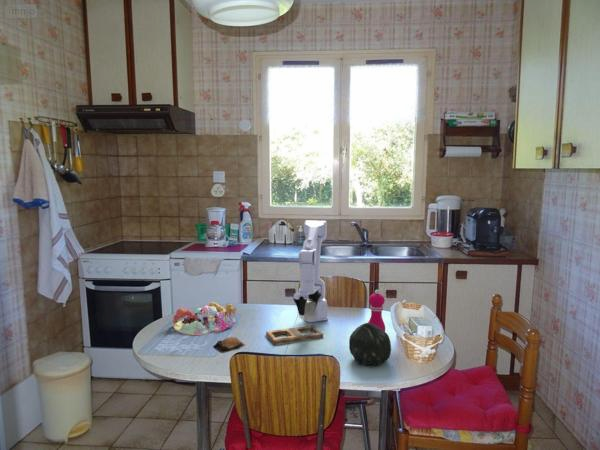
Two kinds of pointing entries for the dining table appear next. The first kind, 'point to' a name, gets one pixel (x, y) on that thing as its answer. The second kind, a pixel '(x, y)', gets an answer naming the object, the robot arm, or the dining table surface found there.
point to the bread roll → (228, 344)
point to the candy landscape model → (204, 319)
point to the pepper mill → (377, 309)
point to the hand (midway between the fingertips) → (307, 312)
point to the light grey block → (309, 310)
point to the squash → (370, 344)
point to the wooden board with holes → (293, 334)
